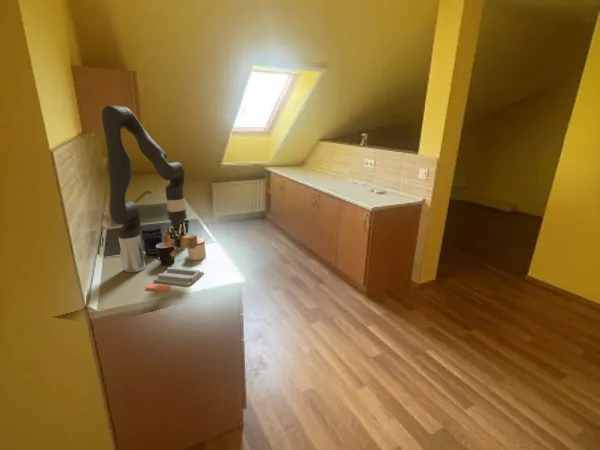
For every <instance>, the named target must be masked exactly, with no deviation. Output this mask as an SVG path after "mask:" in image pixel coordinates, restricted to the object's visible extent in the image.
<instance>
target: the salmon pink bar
mask: <svg viewBox="0 0 600 450" xmlns="http://www.w3.org/2000/svg"><path fill="white" fill-rule="evenodd" d="M171 285H172V284H170V285H169V284H151V283H149V284H148V285H146V286H145V287H144V288H145V290H147V291H160V292H161V291H162V292H168V291H169V290H171V289H172V286H171Z"/></svg>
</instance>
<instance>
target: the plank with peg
mask: <svg viewBox="0 0 600 450" xmlns="http://www.w3.org/2000/svg"><path fill="white" fill-rule="evenodd" d="M176 236H177V234H176ZM197 238H198V236H197V235H194V234H186V235H185V234H180V238H179V239H180V245H181V246H180V247H177V248H186V249H187V248H188V249H194V248H195V247H196V246H198V245H197ZM163 242H164V243H165V247H175V241H174V239H171V238H170V236H169V233H168V230H167V229H166V230H165V235H163ZM188 249H187V250H188Z"/></svg>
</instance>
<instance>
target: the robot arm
mask: <svg viewBox="0 0 600 450" xmlns="http://www.w3.org/2000/svg"><path fill="white" fill-rule="evenodd" d="M101 121H102V128H103V133H104V136H105V145H106V152H107V153H106V154H107V168H108V169H107V170H108V177H109V215H110V219H111V220H112V222H113V223H114V224H116V225H122V226H121V227H120V228H119V230H118V231H117V237H118V242H119V246H120V251H119V256H120V262H121V266H122V270H123V271H124V272H126V273H137V272H138V273H139V272H141V271H142V270H145V268H146V267H147V266H146V262H145V253H144V249H143V243H142V236H141V228H142V227H141V225H142V224H141V216H140V210H139V207H138V205H137V204H136V203H135V202H134V201H131V200H128V201H126V193H127V191H128V189H129V186H130V183H131V180H132V177H133V163H132V161H133V160H132V159H131V156H130V154H129V153H128V150H127V149H126V148H125V146H124V143H123V141H122V133H121V132H122V131H121V130H123V129H125V130H126V131H128V132H129V133H131V135H132V136H133V137H134V138H135V140H136V144H137V145H138V149H139V151H141V153H142V155H144V157H146V158H147V159H148V161H150V162H151V163H152V165H153V167H154V168H155V169H154V170H156V172H157V174H158V175H159V177H160V178H162V179H163V180H165V181H169V184H168V185H167V186H166V187H165V196H166V208H167V218H168V220H169V221H170V222H171V223H170V227H168V228H167V229H166V230H168V233H169V236H170V238H171V239H174V241H175V247H180V246H181V245H180V239H179V238H180V234H185V235H187V234H188V233H189V223H190V221H189V220H188V219H187V210H186V201H185V198H184V197H185V196H184V184H185V167H183V165H182V163H180V162H178V161H172V162H168V161H167V158H168V155H167V152H165V150H163V148H162V147H161V146H160V145H159V144H158V143H156V142H155V140H154V139H153V138H152V137H151V136H150V135H149V133H148V132H147V130H145V128H144V127H143V125H142V123H141V122H140V121H139V120H138V118H137V116H136V115H135V114H134V113H133V112H132V110H131V109H130V108H128V107H127V106H123V105H105V106H104V107H103V109H102V112H101ZM175 231H177V232H175ZM176 234H177V236H176Z"/></svg>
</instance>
